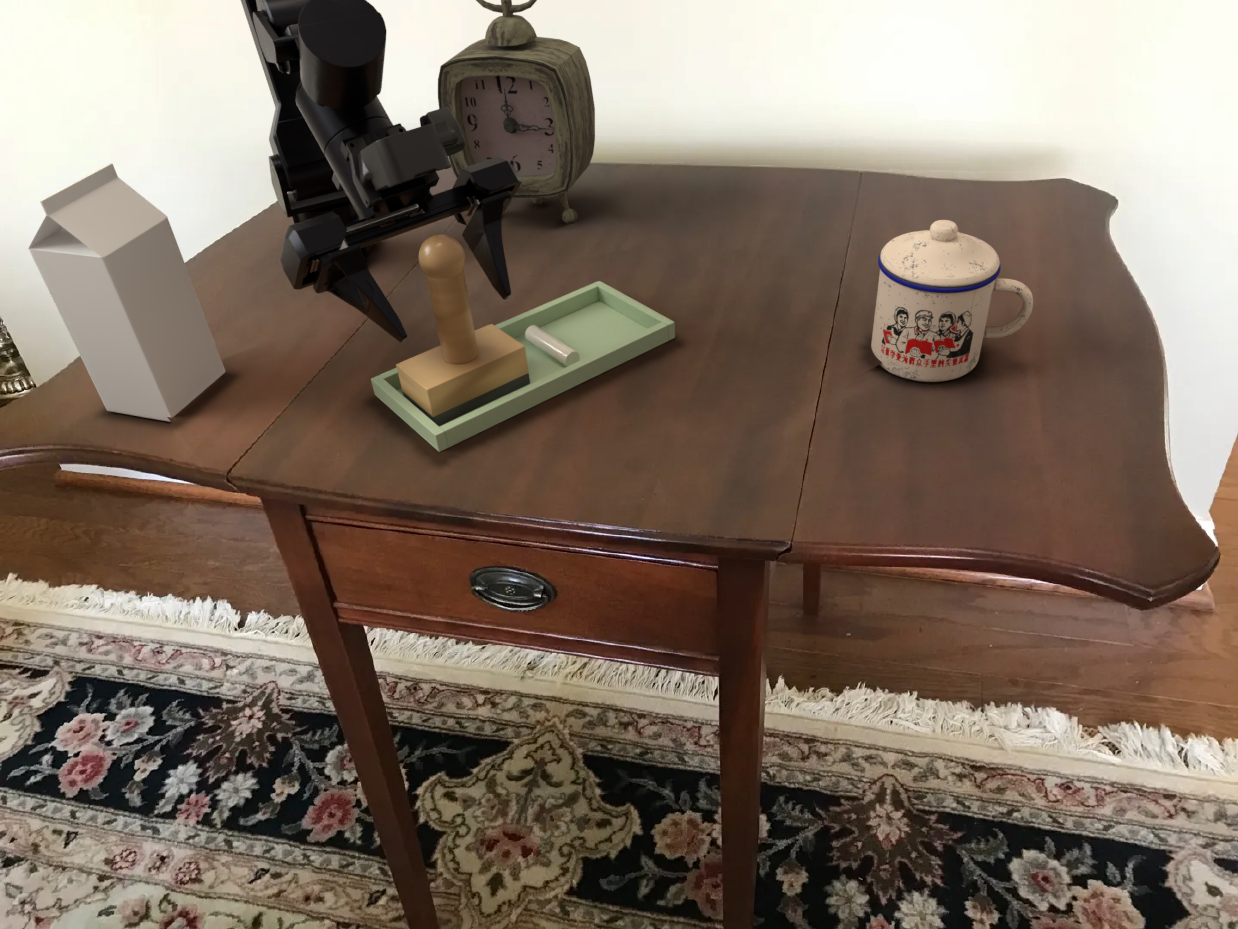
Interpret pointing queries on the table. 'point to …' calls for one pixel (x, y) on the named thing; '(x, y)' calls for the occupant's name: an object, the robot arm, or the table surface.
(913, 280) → the teacup with lid
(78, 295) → the milk carton
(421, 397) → the wooden rubber stamp
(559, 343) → the chalk
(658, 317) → the tray
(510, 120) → the tabletop clock
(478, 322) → the table surface
